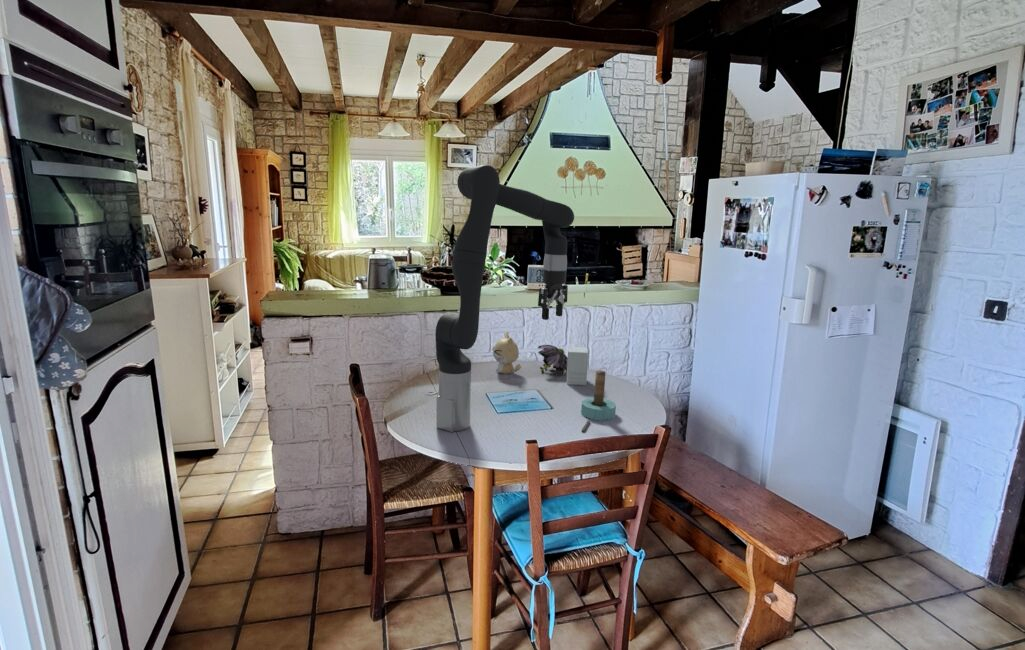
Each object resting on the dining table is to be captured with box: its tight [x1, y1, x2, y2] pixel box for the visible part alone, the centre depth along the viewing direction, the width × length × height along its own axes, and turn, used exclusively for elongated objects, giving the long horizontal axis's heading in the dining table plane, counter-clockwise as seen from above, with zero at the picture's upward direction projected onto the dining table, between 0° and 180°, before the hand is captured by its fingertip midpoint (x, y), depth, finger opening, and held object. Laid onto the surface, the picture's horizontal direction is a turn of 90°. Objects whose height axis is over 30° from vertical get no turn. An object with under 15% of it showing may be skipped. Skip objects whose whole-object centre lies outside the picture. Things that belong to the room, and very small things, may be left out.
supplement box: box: [566, 346, 589, 386], centre depth 207 cm, size 7×7×13 cm
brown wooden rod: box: [593, 370, 606, 407], centre depth 176 cm, size 3×3×14 cm
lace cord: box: [581, 419, 591, 433], centre depth 167 cm, size 8×1×1 cm, turn 160°
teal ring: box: [580, 397, 617, 421], centre depth 177 cm, size 10×10×4 cm
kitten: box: [492, 331, 522, 374], centre depth 216 cm, size 15×10×15 cm
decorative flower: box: [537, 344, 568, 376], centre depth 219 cm, size 15×12×15 cm
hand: (552, 317), depth 183 cm, fingers open, 8 cm apart
